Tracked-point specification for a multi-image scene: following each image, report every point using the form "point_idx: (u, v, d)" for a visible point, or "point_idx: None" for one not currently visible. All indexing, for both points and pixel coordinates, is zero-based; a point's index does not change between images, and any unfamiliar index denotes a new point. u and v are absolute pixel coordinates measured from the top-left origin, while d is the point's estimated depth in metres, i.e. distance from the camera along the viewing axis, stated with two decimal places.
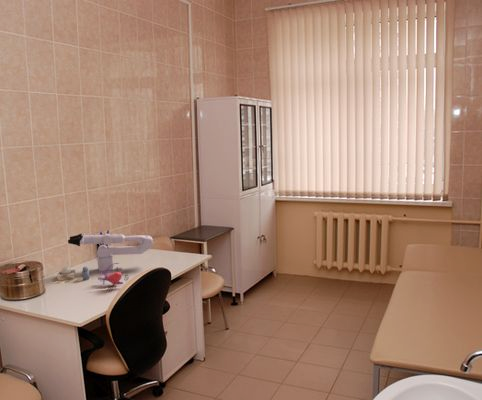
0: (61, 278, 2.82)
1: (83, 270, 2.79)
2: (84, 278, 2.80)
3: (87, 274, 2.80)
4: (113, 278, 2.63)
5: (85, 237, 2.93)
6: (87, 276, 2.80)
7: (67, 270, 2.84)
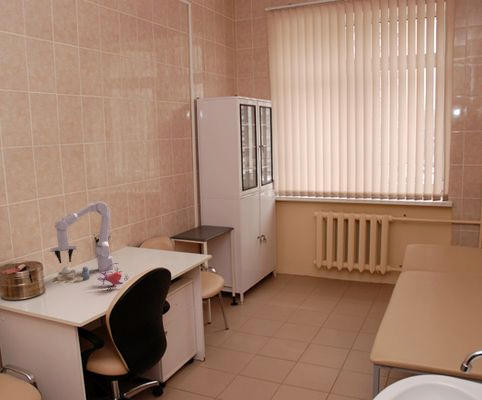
0: (61, 278, 2.82)
1: (83, 270, 2.79)
2: (84, 278, 2.80)
3: (87, 274, 2.80)
4: (113, 278, 2.62)
5: (66, 246, 2.82)
6: (87, 276, 2.80)
7: (67, 270, 2.84)
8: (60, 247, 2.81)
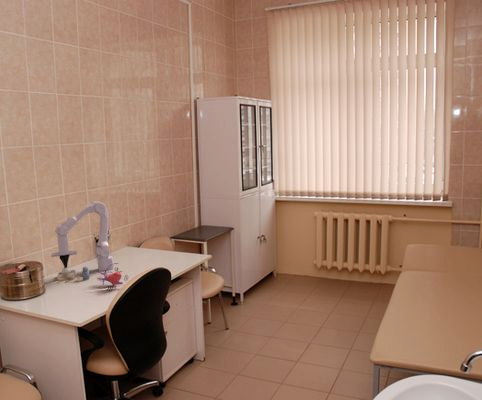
0: (61, 278, 2.82)
1: (83, 270, 2.79)
2: (84, 278, 2.80)
3: (87, 274, 2.80)
4: (113, 278, 2.62)
5: (67, 251, 2.83)
6: (87, 276, 2.80)
7: (67, 270, 2.84)
8: (61, 252, 2.82)
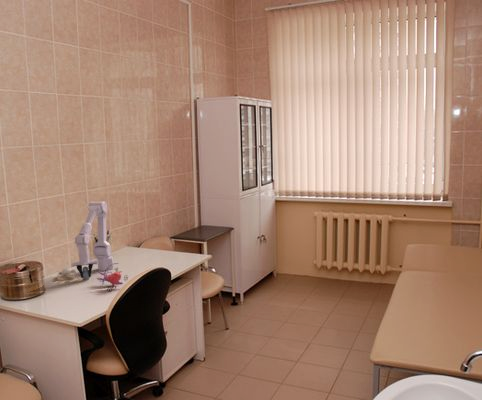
0: (61, 278, 2.82)
1: (83, 270, 2.79)
2: (84, 278, 2.80)
3: (87, 274, 2.80)
4: (113, 278, 2.62)
5: (87, 261, 2.78)
6: (87, 276, 2.80)
7: (67, 271, 2.84)
8: (81, 262, 2.77)
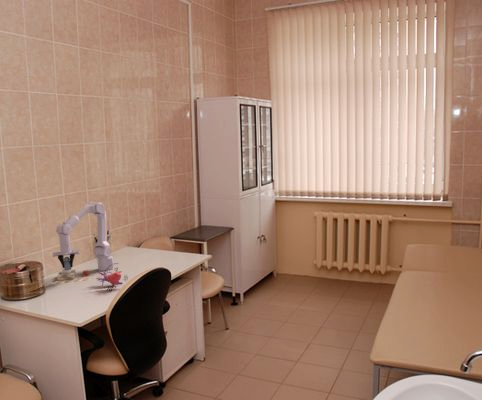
0: (61, 278, 2.82)
1: (64, 260, 2.76)
2: (65, 268, 2.76)
3: (69, 264, 2.77)
4: (113, 278, 2.62)
5: (69, 251, 2.75)
6: (69, 266, 2.77)
7: (67, 271, 2.84)
8: (62, 252, 2.74)
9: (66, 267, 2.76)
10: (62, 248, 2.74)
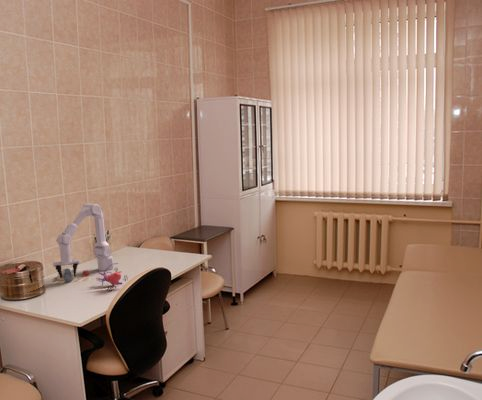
0: (61, 278, 2.82)
1: (65, 272, 2.77)
2: (66, 280, 2.78)
3: (69, 276, 2.78)
4: (112, 278, 2.62)
5: (69, 260, 2.76)
6: (69, 278, 2.78)
7: None
8: (63, 261, 2.75)
9: (67, 279, 2.77)
10: (62, 258, 2.75)
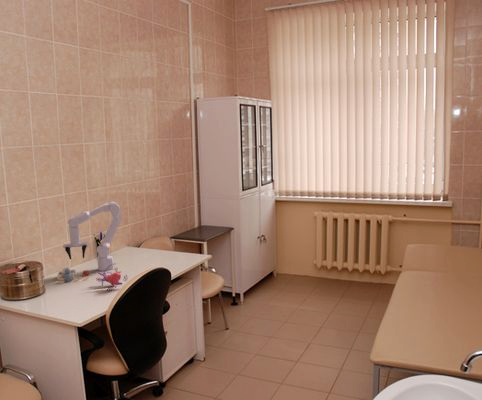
0: (61, 278, 2.82)
1: (65, 272, 2.77)
2: (66, 280, 2.78)
3: (69, 276, 2.78)
4: (112, 279, 2.62)
5: (78, 242, 2.90)
6: (69, 278, 2.78)
7: None
8: (72, 243, 2.89)
9: (67, 279, 2.77)
10: (72, 240, 2.89)
